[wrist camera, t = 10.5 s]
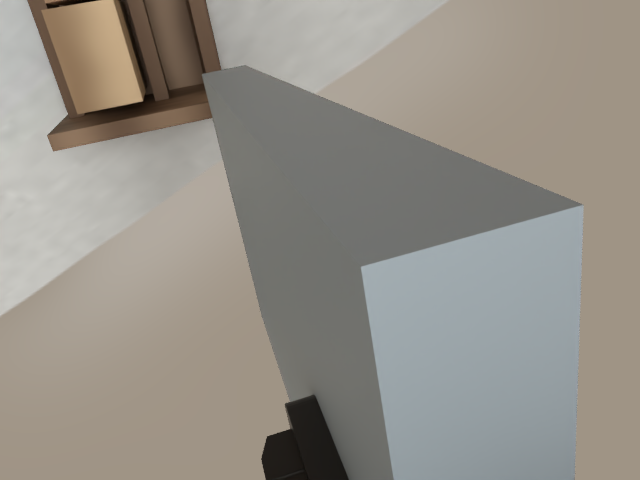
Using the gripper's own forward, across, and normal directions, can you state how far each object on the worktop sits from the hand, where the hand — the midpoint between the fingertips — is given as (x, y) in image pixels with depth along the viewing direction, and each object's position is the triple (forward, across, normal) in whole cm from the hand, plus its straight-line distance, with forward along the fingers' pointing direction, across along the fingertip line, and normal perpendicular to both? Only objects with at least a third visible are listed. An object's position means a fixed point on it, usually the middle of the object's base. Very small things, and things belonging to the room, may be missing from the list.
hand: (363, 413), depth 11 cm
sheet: (+17, 0, +1) cm, 17 cm away
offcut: (+37, +7, -7) cm, 39 cm away
